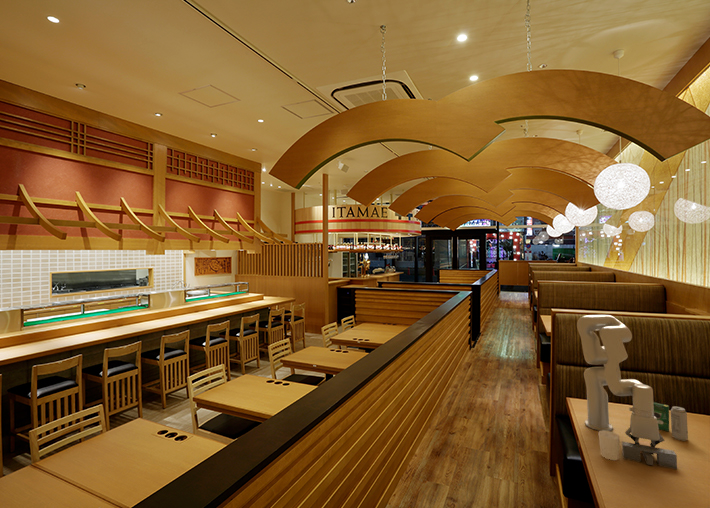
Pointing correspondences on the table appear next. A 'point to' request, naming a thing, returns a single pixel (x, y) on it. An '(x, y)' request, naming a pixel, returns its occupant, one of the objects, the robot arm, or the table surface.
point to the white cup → (609, 444)
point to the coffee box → (662, 416)
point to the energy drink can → (679, 423)
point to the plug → (646, 453)
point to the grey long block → (663, 455)
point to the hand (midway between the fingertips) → (645, 451)
